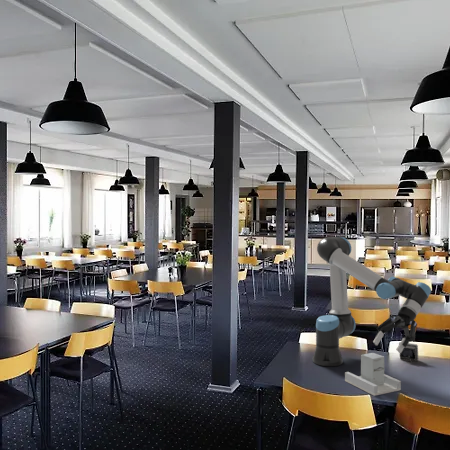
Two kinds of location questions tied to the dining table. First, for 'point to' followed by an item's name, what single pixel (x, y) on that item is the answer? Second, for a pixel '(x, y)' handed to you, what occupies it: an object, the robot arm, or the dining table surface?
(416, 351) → the electrical switch
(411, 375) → the dining table surface
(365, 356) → the supplement box
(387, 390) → the tray
